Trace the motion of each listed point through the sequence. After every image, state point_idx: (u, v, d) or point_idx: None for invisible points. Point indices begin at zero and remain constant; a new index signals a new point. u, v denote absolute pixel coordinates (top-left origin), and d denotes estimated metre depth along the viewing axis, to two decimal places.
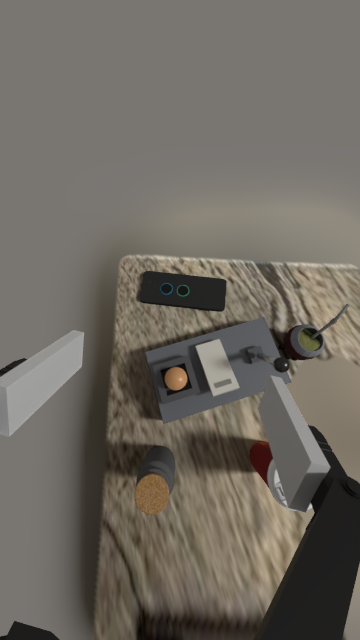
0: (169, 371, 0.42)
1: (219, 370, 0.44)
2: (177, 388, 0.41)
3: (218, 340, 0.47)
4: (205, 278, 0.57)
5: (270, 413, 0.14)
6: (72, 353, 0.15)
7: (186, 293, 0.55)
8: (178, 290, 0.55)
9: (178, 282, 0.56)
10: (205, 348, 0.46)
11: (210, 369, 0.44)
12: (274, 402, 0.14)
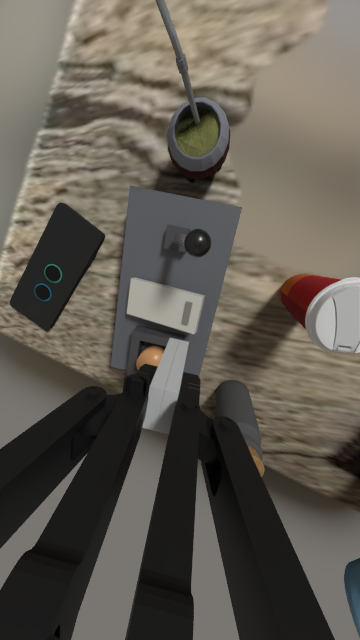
0: None
1: (169, 306, 0.30)
2: None
3: (132, 280, 0.31)
4: (46, 231, 0.36)
5: None
6: None
7: (58, 271, 0.37)
8: (50, 279, 0.38)
9: (39, 271, 0.38)
10: (135, 304, 0.32)
11: (163, 316, 0.31)
12: None
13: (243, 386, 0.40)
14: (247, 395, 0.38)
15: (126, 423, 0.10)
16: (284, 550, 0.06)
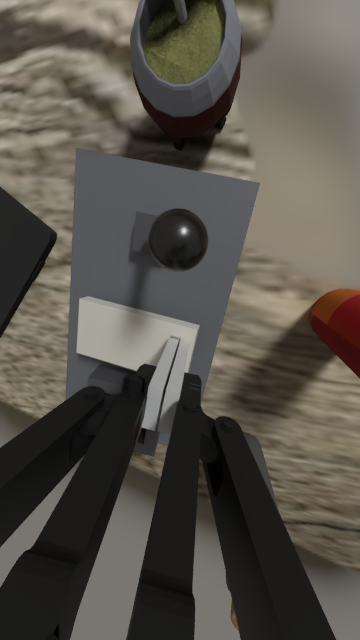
0: None
1: (143, 343, 0.19)
2: None
3: (82, 303, 0.19)
4: None
5: None
6: (174, 358, 0.17)
7: None
8: None
9: None
10: (89, 339, 0.20)
11: (134, 358, 0.20)
12: None
13: (254, 442, 0.29)
14: (261, 458, 0.27)
15: (124, 422, 0.10)
16: (286, 551, 0.06)
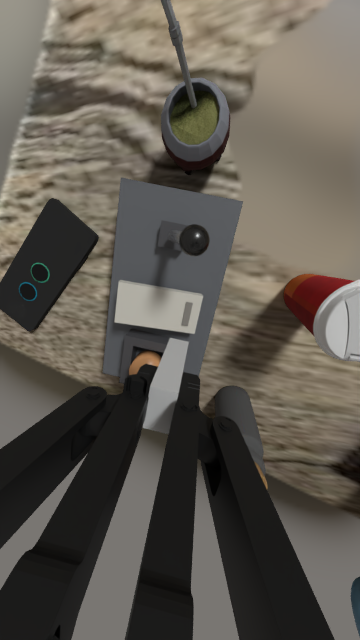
0: None
1: (167, 309, 0.28)
2: None
3: (120, 284, 0.27)
4: (35, 227, 0.33)
5: None
6: None
7: (46, 271, 0.35)
8: (37, 278, 0.36)
9: (24, 269, 0.35)
10: (125, 311, 0.28)
11: (160, 320, 0.29)
12: None
13: (243, 392, 0.38)
14: (248, 402, 0.36)
15: (126, 423, 0.10)
16: (284, 550, 0.06)
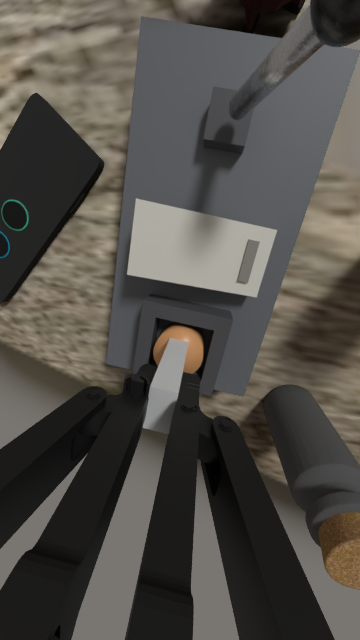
0: (158, 358, 0.19)
1: (216, 252, 0.17)
2: (198, 362, 0.19)
3: (139, 204, 0.15)
4: (9, 142, 0.22)
5: None
6: None
7: (24, 213, 0.24)
8: (10, 224, 0.24)
9: None
10: (146, 254, 0.16)
11: (203, 272, 0.17)
12: None
13: (309, 394, 0.26)
14: (320, 409, 0.24)
15: (126, 423, 0.10)
16: (284, 550, 0.06)
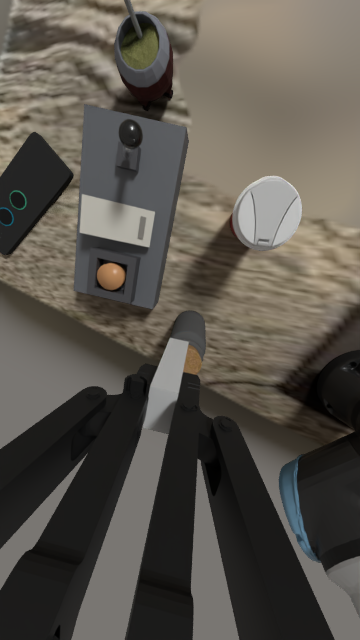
0: (99, 279, 0.36)
1: (124, 222, 0.33)
2: (120, 281, 0.36)
3: (83, 196, 0.32)
4: (17, 157, 0.38)
5: None
6: None
7: (23, 199, 0.40)
8: (14, 205, 0.40)
9: (4, 195, 0.40)
10: (89, 222, 0.33)
11: (119, 232, 0.34)
12: None
13: (199, 315, 0.44)
14: (200, 320, 0.42)
15: (126, 423, 0.10)
16: (284, 550, 0.06)
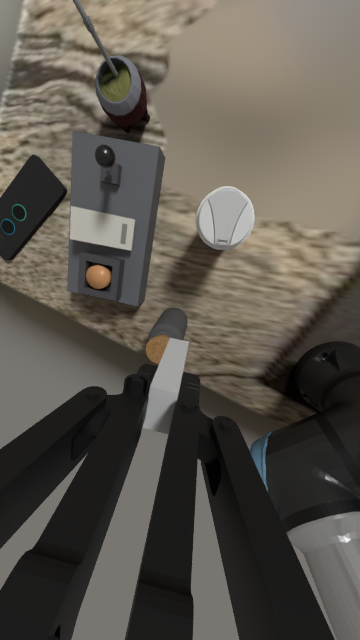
0: (88, 280, 0.41)
1: (108, 229, 0.38)
2: (106, 280, 0.41)
3: (72, 208, 0.37)
4: (18, 176, 0.43)
5: None
6: None
7: (24, 212, 0.45)
8: (16, 217, 0.46)
9: (7, 208, 0.45)
10: (77, 229, 0.38)
11: (104, 238, 0.39)
12: None
13: (181, 311, 0.48)
14: (181, 315, 0.46)
15: (126, 423, 0.10)
16: (284, 550, 0.06)
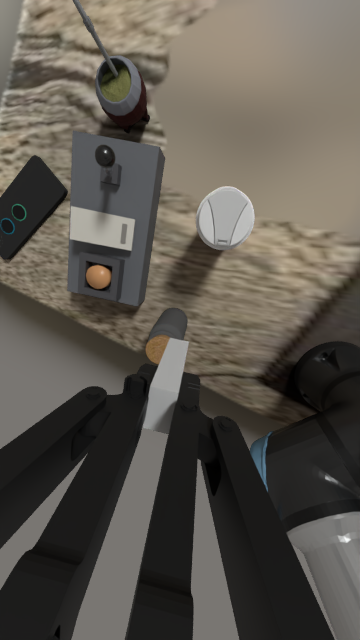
0: (88, 280, 0.41)
1: (108, 229, 0.38)
2: (106, 280, 0.41)
3: (72, 208, 0.37)
4: (19, 176, 0.43)
5: None
6: None
7: (23, 212, 0.45)
8: (16, 216, 0.46)
9: (7, 208, 0.45)
10: (77, 229, 0.38)
11: (104, 238, 0.39)
12: None
13: (181, 311, 0.48)
14: (181, 316, 0.46)
15: (126, 423, 0.10)
16: (284, 550, 0.06)
